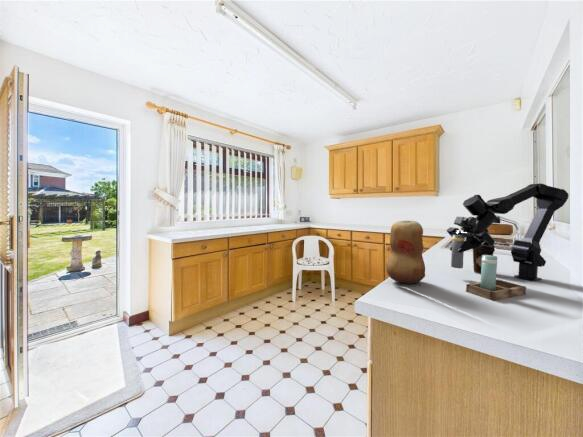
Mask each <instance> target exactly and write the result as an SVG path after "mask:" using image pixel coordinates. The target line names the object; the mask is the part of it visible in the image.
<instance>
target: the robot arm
mask: <svg viewBox="0 0 583 437" xmlns="http://www.w3.org/2000/svg"><path fill="white" fill-rule="evenodd" d="M569 196H570V195H569V193H568V192H567V191H566V190H565V189H564V188H558V187H555V186H549V185H546V184H544V183H530V184H528V185H527V186H525V187H522V188H521V189H519V190H517V191H515V192H513V193H510V194H508V195H506V196H502V197H496V198H492V199H489V200H487V201H485V200H484V198H483V197H482V196H481V195H480V194H474V195H473V196H471V197H469V198H468V199H465V200H464V201H463V203H462V206H463V207H464V208H465V209H466V210H467V211H468V212H469V214H471V215H472V216H469V217H464V216H456V217H455V219H454V221H453V225H456V226H459V227H460V229H459V228H457V227H451V226H450V227H448V228H447V229H446V232H447V233H448V234H449V236H451V238H452V235H464V239H465V240H464V243H463V245H462V246H461V247H460V248H459V250H458V252H459V253H461V252H467V251H469V250H473V248H476V247H481V246H482V245H481V244H484V245H485V246H487V247H492V246H493V245H494V246H495V243H496V242H495V239H494V237H492V236H491V235H490V234H489V230H488V229H489V227H490V226H492V225H493V224H501V220H500V216H497V215H499V214H500V215H505V214H508V213H509V212H510V211H512V210H513V209H514V208H515V206H517V205H519V204H520V203H523V202H525V201H527V200H529V199H531V198H534V199H536V205H537V207H538V208H537V209H536V211H535V214H534V216H533V218H532V220H531V223H530V224H529V226H528V228H527V230H526V232H525V234H524V236H523V238H522V239H520V240H517V239H516V240H514V241H513V245H512V246H511V247H510V249H511V250H510V254H511V257H512V260H513V262H514V263H515V262H516V263H518V274H517V275H513V277H514V278H519V279H523V280H527V281H531V282H534V281H535V282H536V281H540V280H542V277H538V274H539V273H538V272H539V271H538V270H539V268H542V267H545V265H546V263H547V260H545V258H544V257H543V256H542V255H541V253H542V247H541V244H540V241H541V240H542V237H543V236H544V233H545V232H546V230H547V228H548V226H549V224H550V221H551V219H552V217H553V216H554V214H555V212H556V211H557V210H559V209H561V208H562V207H563V206H564V205H565V203H566V202H567V201H568V199H569ZM496 214H497V215H496ZM449 250H450V251H451V252H452V243H451V244H450V248H449Z"/></svg>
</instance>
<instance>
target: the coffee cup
mask: <svg viewBox="0 0 583 437" xmlns="http://www.w3.org/2000/svg"><path fill="white" fill-rule="evenodd" d="M481 245H482V246H481V247H476V248H473V249H472V262H473V266H472V267H473V272H474V273H475V274H480V275H481V266H482V255H492V256H494V252H495V249H496V248H495V247H496V246H495V244H494V245H493V246H492V247H487V246H485V245H484V243H482V244H481Z"/></svg>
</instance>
